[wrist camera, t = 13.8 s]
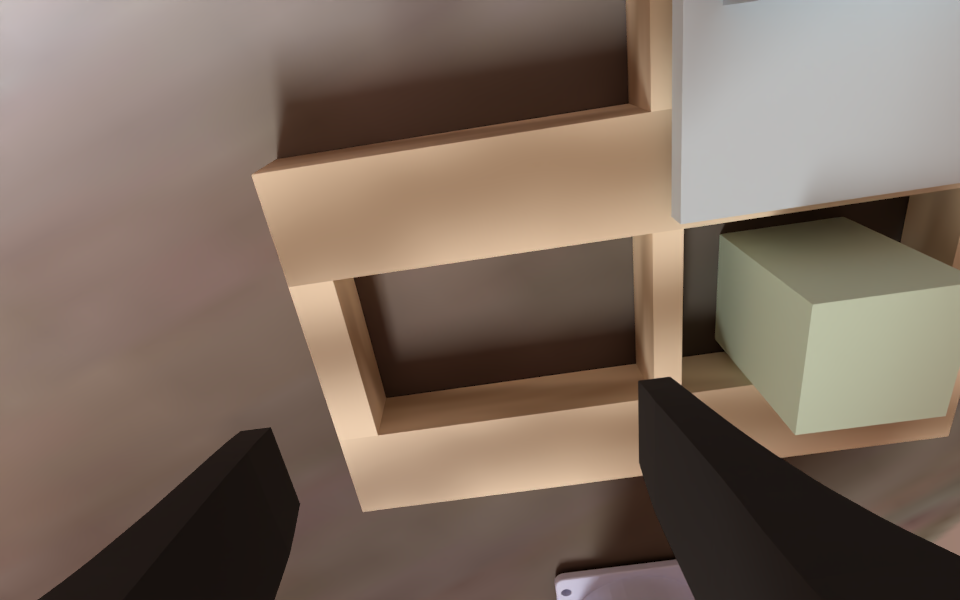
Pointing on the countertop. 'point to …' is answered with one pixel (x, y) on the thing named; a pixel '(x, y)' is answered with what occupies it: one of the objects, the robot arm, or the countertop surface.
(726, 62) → the lid
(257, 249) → the countertop surface
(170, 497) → the robot arm
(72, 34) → the countertop surface
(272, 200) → the puzzle board
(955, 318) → the block
